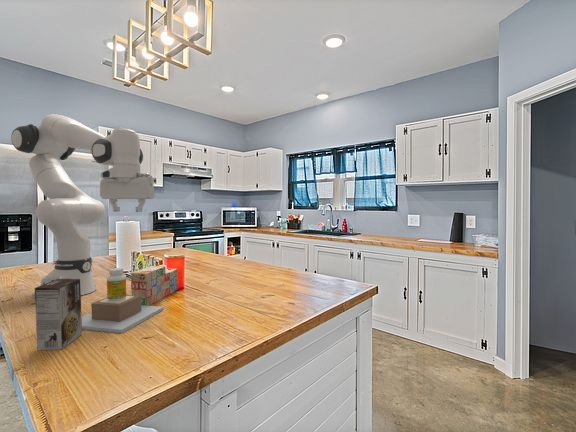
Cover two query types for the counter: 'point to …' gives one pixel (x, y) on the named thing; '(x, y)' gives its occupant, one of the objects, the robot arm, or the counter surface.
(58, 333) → the coffee box
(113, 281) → the supplement bottle
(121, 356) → the counter surface
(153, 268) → the stack of blocks
